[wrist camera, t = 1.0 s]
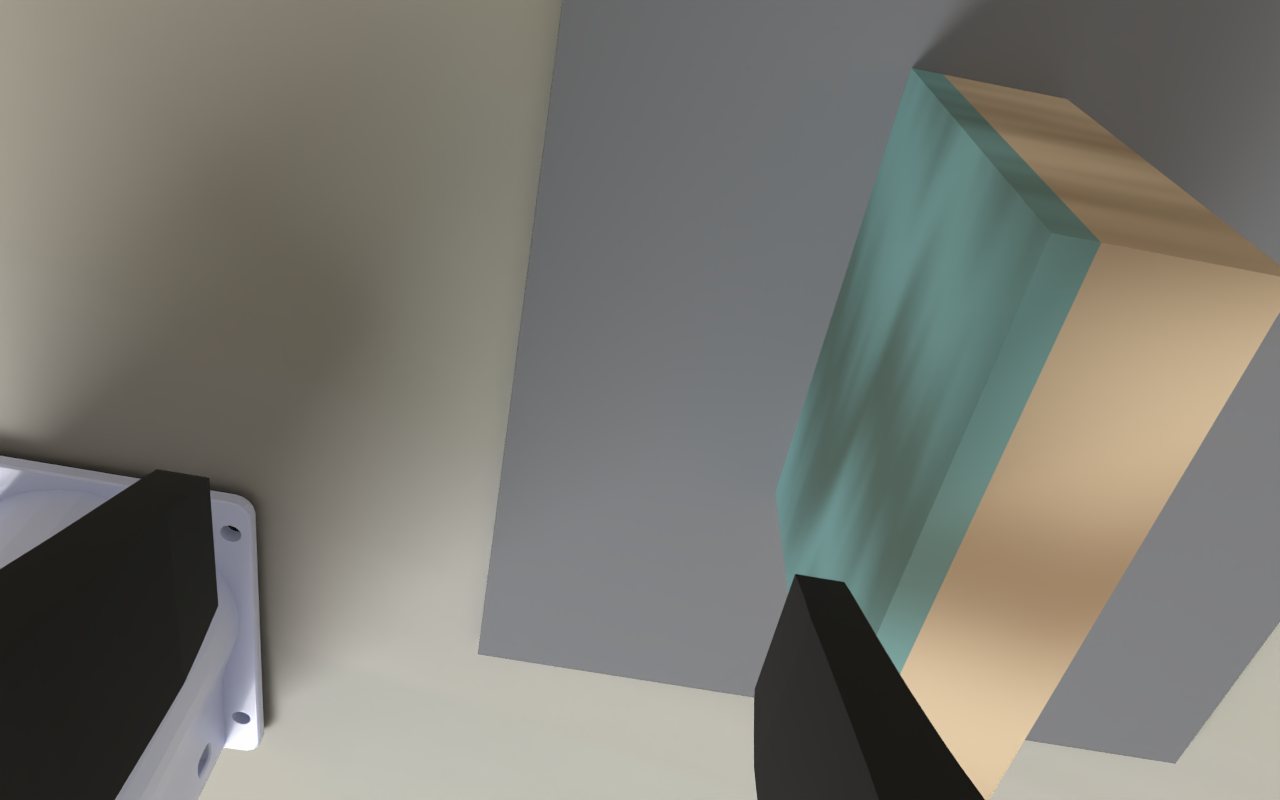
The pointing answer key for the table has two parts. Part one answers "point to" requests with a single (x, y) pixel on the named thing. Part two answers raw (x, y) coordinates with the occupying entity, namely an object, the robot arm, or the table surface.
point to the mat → (799, 319)
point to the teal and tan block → (1010, 395)
